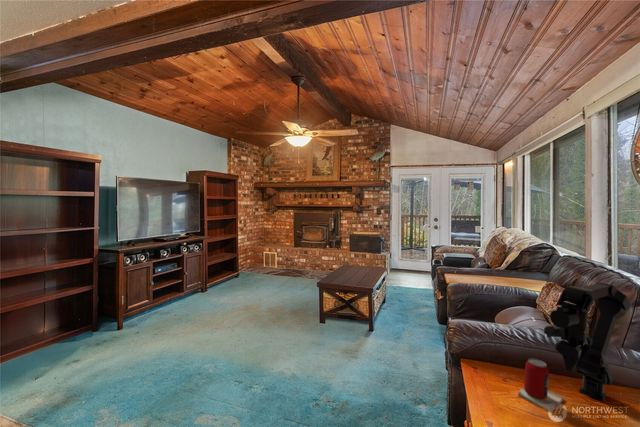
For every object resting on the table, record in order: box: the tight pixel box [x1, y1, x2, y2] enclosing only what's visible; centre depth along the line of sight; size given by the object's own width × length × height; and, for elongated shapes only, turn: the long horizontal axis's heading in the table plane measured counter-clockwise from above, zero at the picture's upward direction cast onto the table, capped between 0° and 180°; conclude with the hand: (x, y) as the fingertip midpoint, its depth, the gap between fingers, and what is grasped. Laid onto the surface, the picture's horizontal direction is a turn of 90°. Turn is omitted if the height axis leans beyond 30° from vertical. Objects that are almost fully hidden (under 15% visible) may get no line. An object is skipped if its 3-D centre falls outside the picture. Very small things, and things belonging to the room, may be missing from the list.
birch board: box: [517, 387, 564, 413], centre depth 105 cm, size 12×10×1 cm
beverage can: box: [523, 357, 550, 399], centre depth 105 cm, size 7×7×12 cm
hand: (572, 366), depth 103 cm, fingers open, 9 cm apart
